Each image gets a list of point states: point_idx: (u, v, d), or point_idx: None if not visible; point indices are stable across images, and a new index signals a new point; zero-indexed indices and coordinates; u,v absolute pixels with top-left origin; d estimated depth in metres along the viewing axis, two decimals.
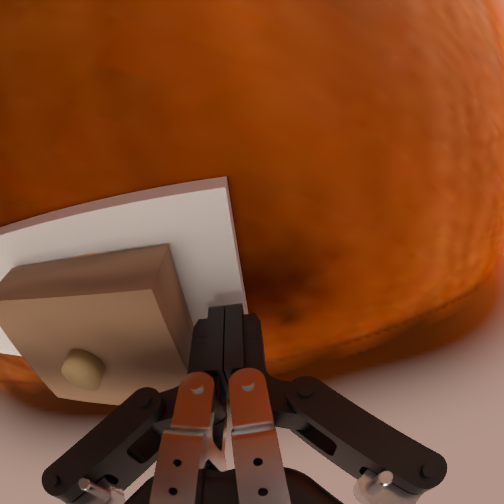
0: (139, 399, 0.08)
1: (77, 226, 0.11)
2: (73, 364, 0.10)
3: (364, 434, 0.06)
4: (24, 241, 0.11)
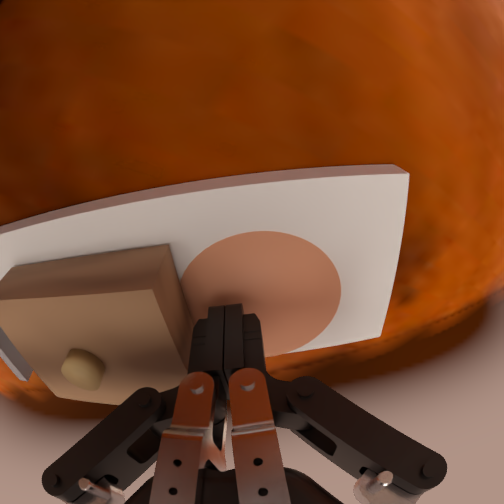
0: (139, 399, 0.08)
1: (250, 198, 0.11)
2: (73, 364, 0.10)
3: (364, 434, 0.06)
4: (154, 215, 0.11)
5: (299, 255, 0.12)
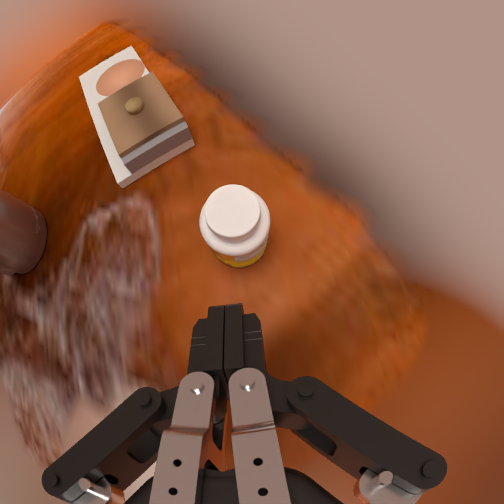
0: (139, 399, 0.08)
1: (88, 95, 0.33)
2: (125, 107, 0.28)
3: (364, 434, 0.06)
4: (94, 109, 0.33)
5: (101, 79, 0.34)
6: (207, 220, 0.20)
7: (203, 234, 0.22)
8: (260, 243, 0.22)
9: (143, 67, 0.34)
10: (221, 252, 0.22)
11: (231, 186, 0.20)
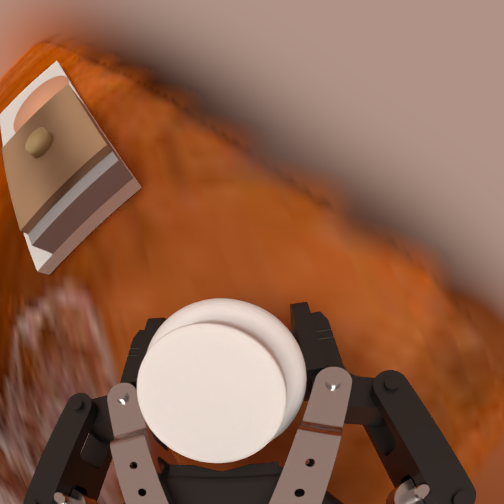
0: (73, 405, 0.08)
1: (5, 138, 0.21)
2: (25, 147, 0.15)
3: (424, 442, 0.06)
4: None
5: (20, 112, 0.21)
6: (151, 427, 0.06)
7: None
8: (290, 423, 0.08)
9: (67, 83, 0.21)
10: None
11: (193, 331, 0.07)
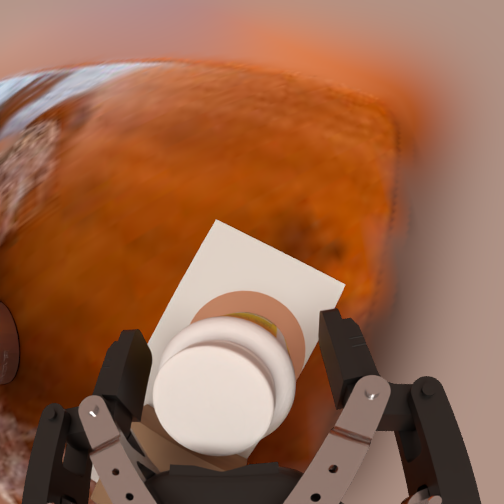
0: (47, 415, 0.07)
1: (174, 309, 0.19)
2: None
3: (447, 453, 0.05)
4: None
5: (222, 306, 0.19)
6: (165, 427, 0.08)
7: None
8: (281, 422, 0.10)
9: None
10: None
11: (197, 352, 0.08)
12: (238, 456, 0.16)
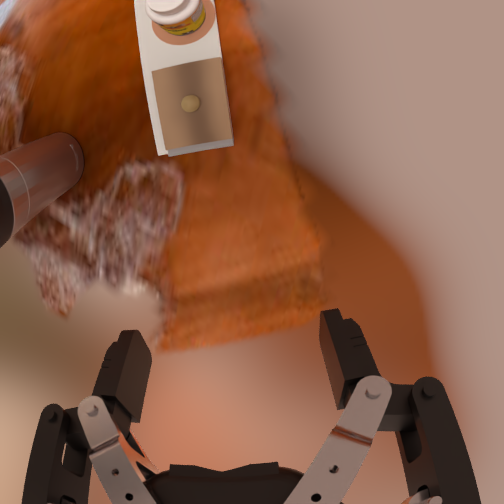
0: (46, 415, 0.07)
1: (141, 27, 0.26)
2: (181, 103, 0.28)
3: (448, 454, 0.05)
4: (145, 53, 0.28)
5: None
6: (158, 10, 0.18)
7: (162, 22, 0.20)
8: None
9: (213, 18, 0.26)
10: (182, 19, 0.20)
11: None
12: None
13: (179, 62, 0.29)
